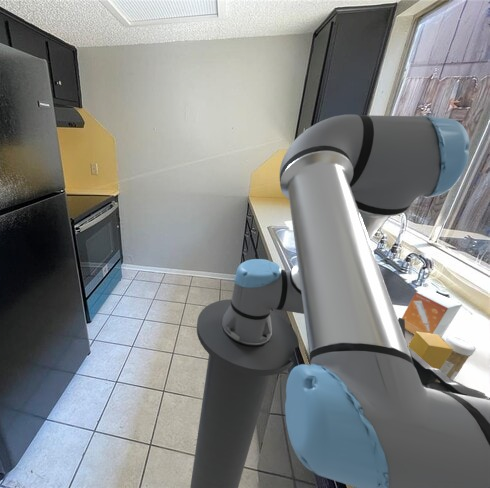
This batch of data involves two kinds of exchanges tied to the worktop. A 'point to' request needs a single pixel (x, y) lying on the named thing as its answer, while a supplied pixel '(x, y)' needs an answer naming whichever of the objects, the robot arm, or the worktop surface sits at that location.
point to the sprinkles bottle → (456, 355)
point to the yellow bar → (430, 348)
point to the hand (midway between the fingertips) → (451, 343)
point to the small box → (430, 313)
